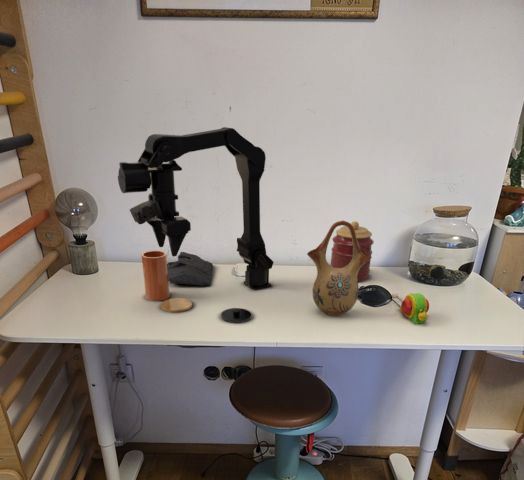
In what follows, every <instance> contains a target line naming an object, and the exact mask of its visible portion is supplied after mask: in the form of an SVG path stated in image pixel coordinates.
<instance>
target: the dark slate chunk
mask: <svg viewBox="0 0 524 480" xmlns="http://www.w3.org/2000/svg"><path fill="white" fill-rule="evenodd" d="M167 269H168V282H169V284H177V285H191V286H200V287H201V286H203V287H205V286H209V285H211V282H212V279H213V270H214V265H213V263H212V262H210V261H208V260H205V259H203V258H201V257H200V256H198V255H197V254H193V253H189V252H186V251H180V252H179V254H178V255H177V260H176V261H169V262H167Z"/></svg>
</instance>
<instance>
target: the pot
mask: <svg viewBox="0 0 524 480" xmlns="http://www.w3.org/2000/svg"><path fill="white" fill-rule="evenodd" d="M141 262H142V263H141V264H142V272H143V280H144V281H143V282H144V291H145V292H144V293H145V298H146V300H149V301H152V302H153V301H154V302H159V301H160V302H161V301H165V300H168V299H170V295H171V294H170V282H169V281H168V269H167V263H168V258H167V252H165V251H163V250H148V251H145V252H142V253H141Z"/></svg>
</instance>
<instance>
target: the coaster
mask: <svg viewBox="0 0 524 480" xmlns="http://www.w3.org/2000/svg"><path fill="white" fill-rule="evenodd" d="M160 307H161V310H163V311H165V312H168V313H182V312H186V311H189V310H190V309H192V307H193V303H192V301H191V300H190V299H187V298H183V297H175V298H167V299H165V300H163V301H162V302H161V303H160Z"/></svg>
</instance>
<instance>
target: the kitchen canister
mask: <svg viewBox="0 0 524 480" xmlns="http://www.w3.org/2000/svg"><path fill="white" fill-rule="evenodd" d="M350 224H351V225H352V226H353V228H354V231H355V234H356V238H357V241H358V243H359V245H360V247H361V249H362V250H363V251H364V252H366V253H368V254H369V255H370V256H371V257H372V254H373V250H372V245H374V243H375V242H374V240H373V238H371V237H372V236H373V233H372V232H371V231H369V229H368V228H367V227H365V226H364V227H363V226H360V223H359V221H355V220H354V221H352V222H351V223H350ZM335 230H336V229H335ZM335 234H336V235H334V236H333V237H332V238H331V239H332V242H333V246H332V247H331V256H330V264H329V265H330V266H332V267H334V268H343V267H345V266H347V265H348V264H349V263H350V262H351V260H352V257H353V242H352V237H351V233H350V230H349V228H348V227H347V226H344V225H342V226H340V228H338V229H337V230H336V231H335ZM371 259H372V258H371ZM371 259H370V260H368V261H367V262H366V263H365V264H364V265H363V266H362V267H361V268H360V270H359V272H358V275H357V281H358V282H363V281H365V280H367V279H368V278H369V275H370V272H371V270H370V269H371V268H370V267H371V261H372V260H371Z"/></svg>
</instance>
